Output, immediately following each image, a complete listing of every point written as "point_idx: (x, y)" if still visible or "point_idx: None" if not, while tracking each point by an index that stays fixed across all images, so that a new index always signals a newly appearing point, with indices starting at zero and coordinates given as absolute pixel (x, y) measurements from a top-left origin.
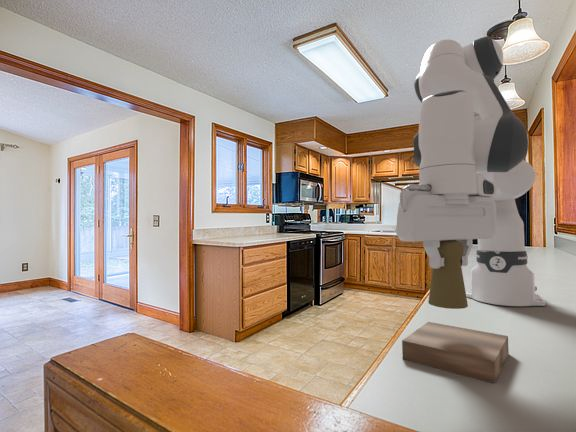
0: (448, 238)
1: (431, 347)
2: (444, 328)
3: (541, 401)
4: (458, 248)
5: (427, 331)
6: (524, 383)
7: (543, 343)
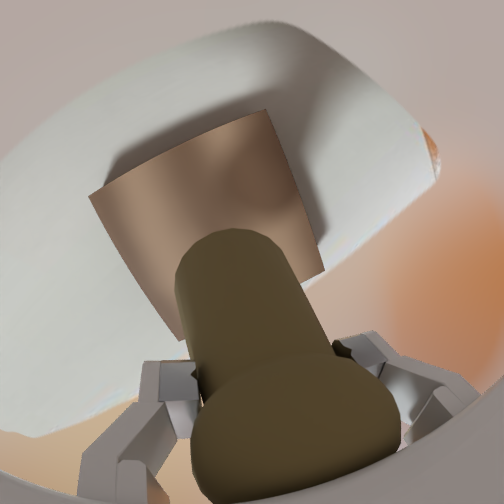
0: (445, 432)
1: (307, 218)
2: None
3: (247, 53)
4: (339, 394)
5: None
6: (207, 92)
7: (4, 206)
